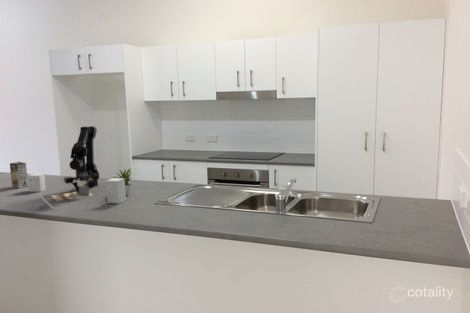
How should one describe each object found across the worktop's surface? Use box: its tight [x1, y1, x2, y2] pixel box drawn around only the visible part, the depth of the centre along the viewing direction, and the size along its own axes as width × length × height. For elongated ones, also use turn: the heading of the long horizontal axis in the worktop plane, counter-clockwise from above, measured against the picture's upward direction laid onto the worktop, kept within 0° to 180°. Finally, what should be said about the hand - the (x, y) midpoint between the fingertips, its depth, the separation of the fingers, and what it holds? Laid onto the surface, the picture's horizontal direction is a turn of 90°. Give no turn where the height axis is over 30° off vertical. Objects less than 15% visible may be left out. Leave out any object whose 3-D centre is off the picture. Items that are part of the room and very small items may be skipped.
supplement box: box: [105, 177, 127, 204], centre depth 215 cm, size 7×7×13 cm
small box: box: [27, 173, 47, 193], centre depth 244 cm, size 8×6×10 cm
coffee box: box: [9, 161, 29, 189], centre depth 255 cm, size 9×6×16 cm
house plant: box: [112, 167, 133, 197], centre depth 231 cm, size 14×14×16 cm
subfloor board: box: [51, 191, 94, 202], centre depth 227 cm, size 20×16×1 cm
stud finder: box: [75, 183, 90, 196], centre depth 230 cm, size 5×9×5 cm, turn 37°
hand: (82, 192), depth 230 cm, fingers closed on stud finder, 5 cm apart
